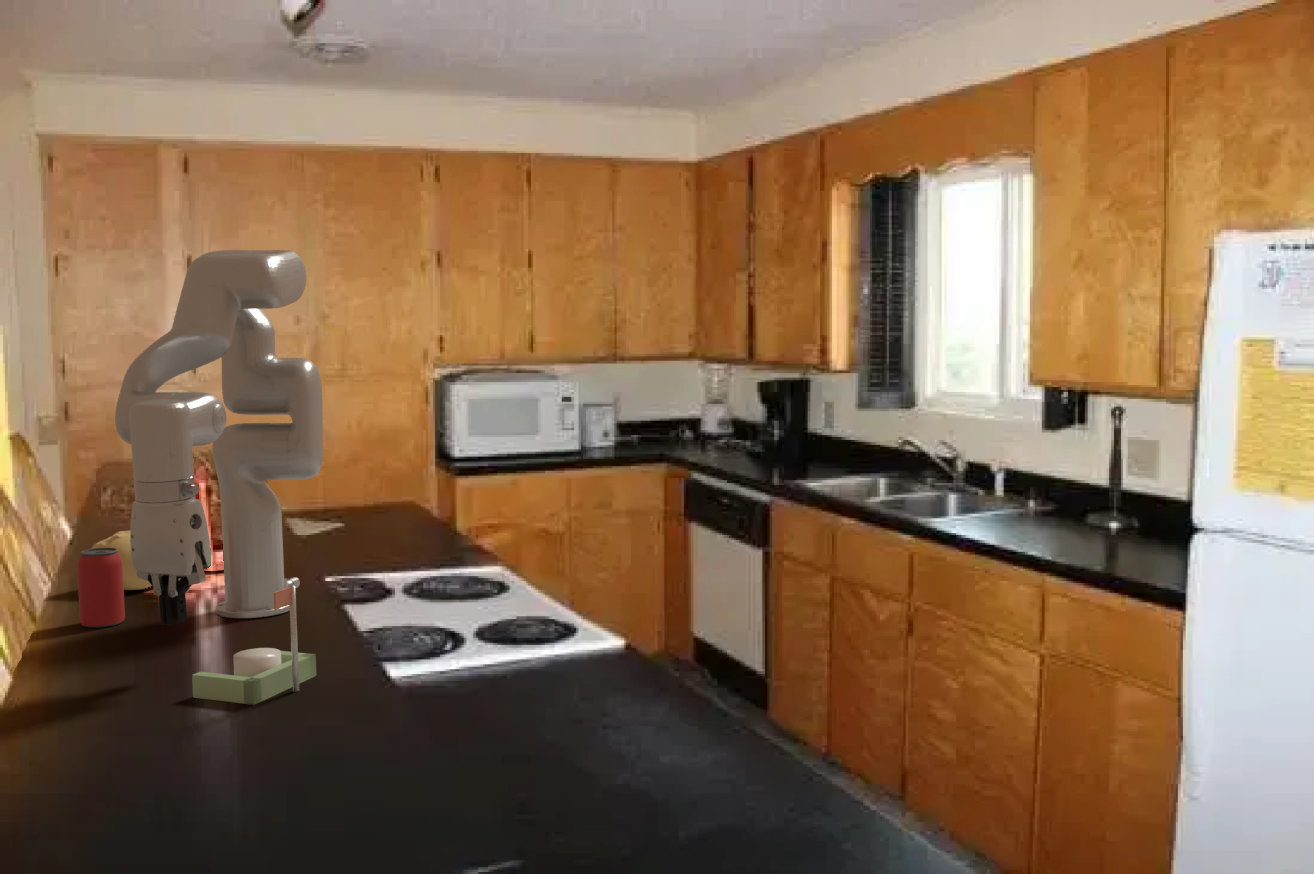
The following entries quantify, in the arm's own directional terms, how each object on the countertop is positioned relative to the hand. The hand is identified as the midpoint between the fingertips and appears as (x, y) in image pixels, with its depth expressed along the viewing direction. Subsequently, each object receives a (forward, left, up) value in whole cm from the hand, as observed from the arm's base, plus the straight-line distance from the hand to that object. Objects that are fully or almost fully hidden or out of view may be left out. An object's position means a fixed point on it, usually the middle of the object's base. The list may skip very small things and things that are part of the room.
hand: (174, 621), depth 161 cm
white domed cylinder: (+1, +14, -7) cm, 16 cm away
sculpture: (-41, -47, -8) cm, 62 cm away
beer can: (-19, -32, -8) cm, 38 cm away
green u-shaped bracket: (+1, +15, -7) cm, 17 cm away
